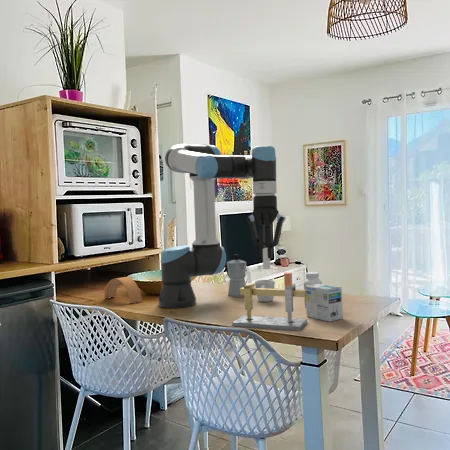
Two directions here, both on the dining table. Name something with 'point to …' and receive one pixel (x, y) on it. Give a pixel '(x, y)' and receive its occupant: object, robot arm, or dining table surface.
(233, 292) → the coffee maker
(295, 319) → the bolt plate
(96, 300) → the dining table surface
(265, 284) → the cup
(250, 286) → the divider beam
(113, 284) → the arch
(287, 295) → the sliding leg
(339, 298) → the light bulb box
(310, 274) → the supplement bottle
